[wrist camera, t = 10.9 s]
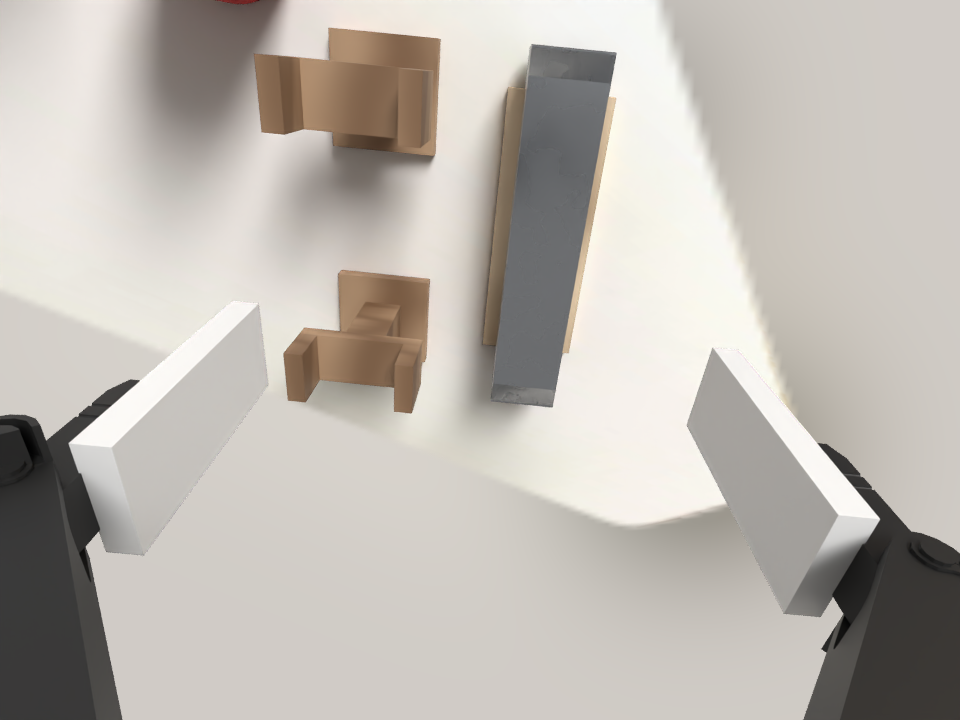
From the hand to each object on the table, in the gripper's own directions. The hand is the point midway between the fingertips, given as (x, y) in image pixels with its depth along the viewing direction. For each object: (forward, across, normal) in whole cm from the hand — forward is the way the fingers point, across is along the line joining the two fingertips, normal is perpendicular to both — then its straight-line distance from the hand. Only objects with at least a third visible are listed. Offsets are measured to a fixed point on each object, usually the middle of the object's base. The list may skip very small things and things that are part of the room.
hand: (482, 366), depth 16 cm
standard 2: (+21, -7, +6) cm, 23 cm away
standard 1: (+21, -7, -8) cm, 23 cm away
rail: (+19, +3, -1) cm, 20 cm away
